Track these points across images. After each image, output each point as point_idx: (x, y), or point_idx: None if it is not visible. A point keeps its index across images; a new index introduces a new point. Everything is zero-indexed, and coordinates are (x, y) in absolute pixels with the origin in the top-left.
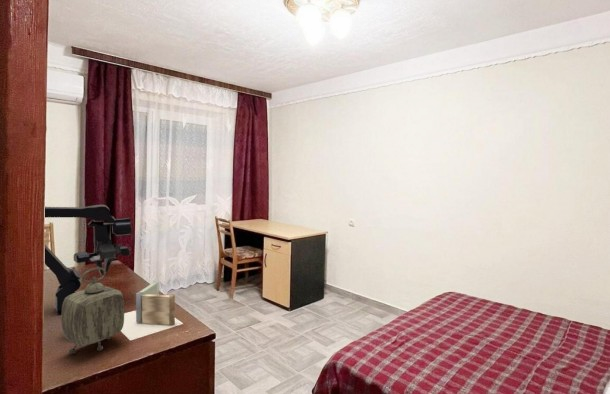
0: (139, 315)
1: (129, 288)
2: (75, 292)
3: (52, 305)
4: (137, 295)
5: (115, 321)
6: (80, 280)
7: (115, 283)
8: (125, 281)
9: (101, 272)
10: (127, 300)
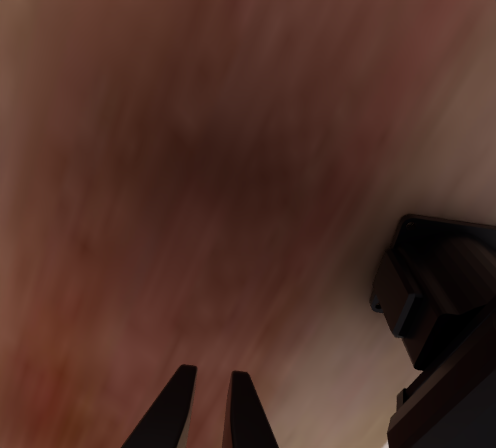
0: None
1: (11, 336)
2: (421, 348)
3: None
4: None
5: None
6: (483, 414)
7: (61, 440)
8: (7, 434)
9: (255, 419)
10: (81, 142)
